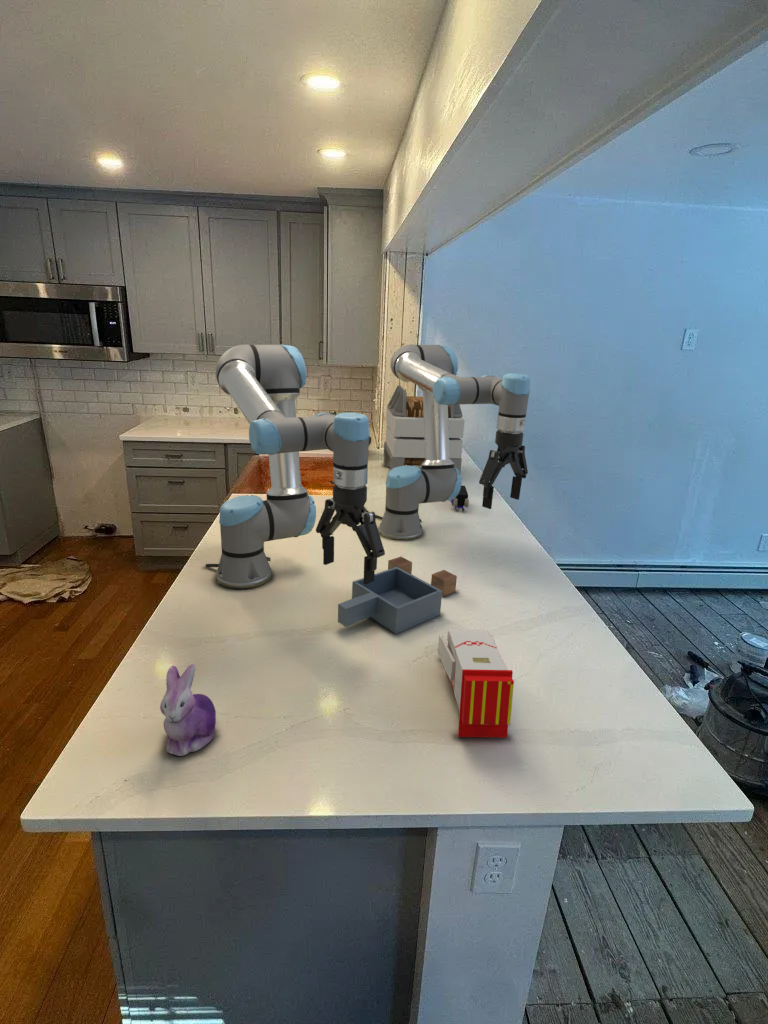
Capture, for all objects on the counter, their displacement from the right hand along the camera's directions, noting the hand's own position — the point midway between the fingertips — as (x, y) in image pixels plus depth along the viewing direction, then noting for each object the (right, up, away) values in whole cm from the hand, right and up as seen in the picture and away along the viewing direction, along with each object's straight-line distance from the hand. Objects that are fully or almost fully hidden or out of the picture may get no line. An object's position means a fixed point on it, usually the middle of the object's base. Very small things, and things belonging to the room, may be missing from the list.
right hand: (501, 502), depth 165 cm
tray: (-35, -29, -19) cm, 49 cm away
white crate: (-17, +16, +110) cm, 112 cm away
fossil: (-47, +28, +139) cm, 150 cm away
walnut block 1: (-30, -22, +3) cm, 37 cm away
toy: (-16, -40, -47) cm, 64 cm away
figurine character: (-4, -1, +65) cm, 65 cm away
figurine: (-69, -44, -63) cm, 103 cm away
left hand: (-42, -17, -34) cm, 57 cm away
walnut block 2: (-17, -25, -5) cm, 31 cm away
